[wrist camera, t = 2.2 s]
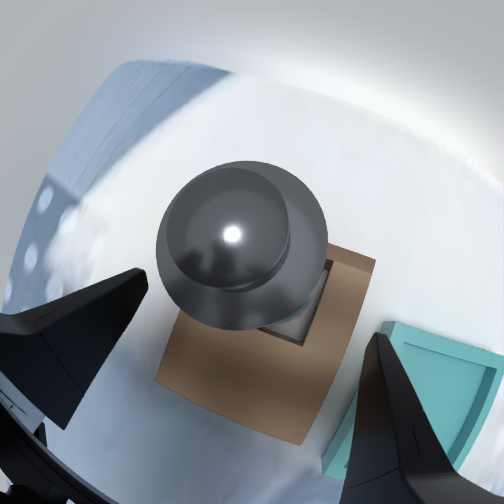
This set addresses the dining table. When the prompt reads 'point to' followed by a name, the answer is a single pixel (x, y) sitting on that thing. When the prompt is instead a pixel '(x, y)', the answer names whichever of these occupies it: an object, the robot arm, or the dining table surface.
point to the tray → (434, 392)
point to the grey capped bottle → (242, 246)
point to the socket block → (270, 358)
